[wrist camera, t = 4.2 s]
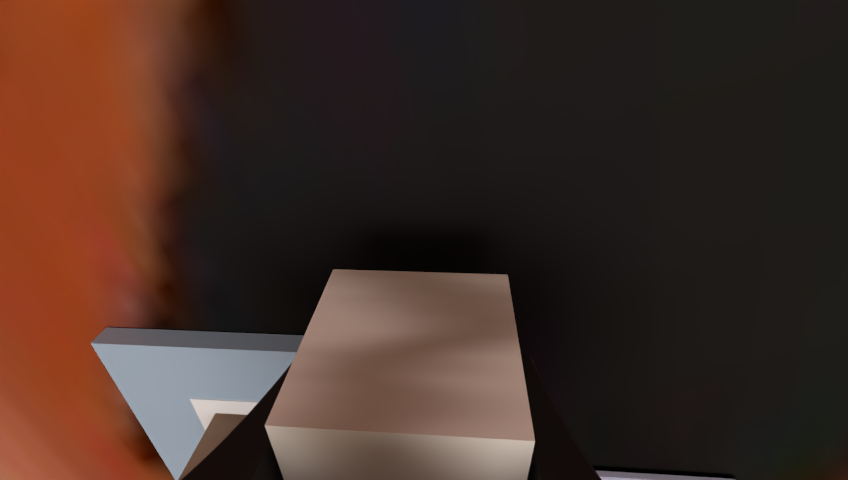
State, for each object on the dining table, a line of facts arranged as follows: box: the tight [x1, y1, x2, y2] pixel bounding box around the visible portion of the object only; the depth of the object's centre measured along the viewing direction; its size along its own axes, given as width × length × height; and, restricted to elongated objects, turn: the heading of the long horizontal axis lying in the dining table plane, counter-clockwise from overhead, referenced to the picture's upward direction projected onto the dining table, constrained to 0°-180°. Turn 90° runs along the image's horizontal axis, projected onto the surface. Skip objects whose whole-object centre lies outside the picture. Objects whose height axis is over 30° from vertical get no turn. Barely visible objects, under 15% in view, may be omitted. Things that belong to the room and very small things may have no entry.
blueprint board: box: [91, 327, 304, 480], centre depth 22 cm, size 14×14×1 cm
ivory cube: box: [265, 269, 535, 480], centre depth 11 cm, size 5×5×5 cm
